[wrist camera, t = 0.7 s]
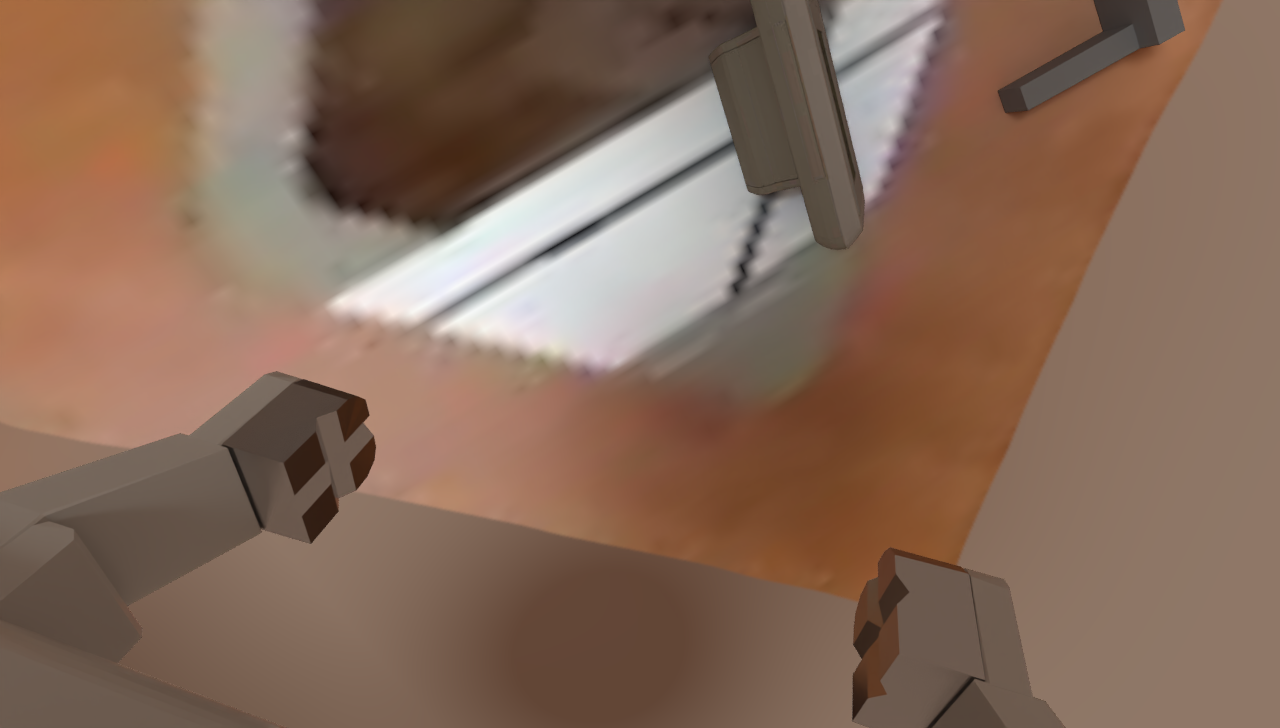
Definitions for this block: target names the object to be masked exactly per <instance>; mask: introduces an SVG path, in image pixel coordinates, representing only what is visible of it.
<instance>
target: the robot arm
mask: <svg viewBox="0 0 1280 728" xmlns="http://www.w3.org/2000/svg"><path fill="white" fill-rule="evenodd" d="M368 417H369V411H368V407H367V404H366V400H365V399H363V398H360V397H358V396H355V395H352V394H349V393H346V392H342V391H339V390H336V389H333V388H330V387H327V386H323V385H320V384H317V383H314V382H311V381H308V380H304V379H300V378H297V377H294V376H290V375H287V374H284V373H280V372H277V371H276V372H272V373H269V374H265V375H264V376H262V377H261V378H260V379H259V380H257V381H256V382H255V383H254V384H252V385H251V386H250V387H249V388H247V389H246V390H245V391H244V392H242V393H241V394H240V395H239V396H238V397H236V398H235V399H234V400H233V401H231V402H230V403H229V404H228V405H226V406H225V407H224V408H223V409H221V410H220V411H219V412H218V413H216V414H215V415H214V416H213V417H212V418H210V419H209V420H208V421H207V422H205V423H204V424H203V425H202V426H200V427H199V428H198V429H197V430H195V431H194V432H193V433H192V434H190V435H189V436H188V435H185V434H181V433H180V434H177V435H174V436H171V437H167V438H164V439H161V440H158V441H155V442H152V443H149V444H146V445H143V446H140V447H137V448H134V449H131V450H128V451H125V452H122V453H119V454H116V455H113V456H110V457H107V458H104V459H101V460H97V461H95V462H92V463H88V464H86V465H82V466H80V467H76V468H74V469H70V470H67V471H64V472H61V473H58V474H55V475H52V476H49V477H46V478H43V479H40V480H37V481H34V482H31V483H27V484H25V485H22V486H19V487H15V488H12V489H10V490H6V491H3V492H0V728H287V727H284V726H281V725H279V724H276V723H273V722H271V721H268V720H266V719H263V718H260V717H258V716H255V715H252V714H250V713H247V712H244V711H242V710H239V709H237V708H234V707H231V706H229V705H226V704H223V703H221V702H218V701H215V700H213V699H210V698H207V697H204V696H202V695H199V694H197V693H194V692H192V691H189V690H186V689H184V688H181V687H178V686H175V685H173V684H170V683H168V682H165V681H163V680H160V679H157V678H154V677H152V676H149V675H147V674H144V673H141V672H139V671H136V670H133V669H131V668H128V667H126V666H123V665H120V664H118V662H119V661H120V660H121V659H122V658H123V657H124V656H125V655H126V654H127V653H128V652H129V651H130V650H131V648H132V647H133V646H134V645H135V644H136V643H137V642H138V641H139V640H140V639H141V638H142V627H141V625H140V624H139V622H138V621H137V620H136V618H135V617H134V615H133V614H132V612H131V611H130V610H129V608H128V607H127V606H129V605H130V604H132V603H134V602H136V601H138V600H139V599H141V598H143V597H145V596H147V595H148V594H150V593H152V592H154V591H156V590H158V589H159V588H161V587H163V586H165V585H167V584H169V583H171V582H172V581H174V580H176V579H178V578H180V577H181V576H183V575H185V574H187V573H189V572H191V571H193V570H194V569H196V568H198V567H200V566H202V565H203V564H205V563H207V562H209V561H211V560H213V559H214V558H216V557H218V556H220V555H222V554H224V553H225V552H227V551H229V550H231V549H233V548H235V547H236V546H238V545H240V544H242V543H244V542H246V541H247V540H249V539H251V538H253V537H255V536H257V535H258V534H260V533H261V532H262V531H261V529H262V530H265V531H269V532H272V533H276V534H279V535H282V536H286V537H289V538H292V539H296V540H299V541H303V542H306V543H309V544H311V543H312V542H313V541H314V540H315V539H316V537H317V536H318V535H319V534H320V533H321V532H322V530H323V529H324V528H325V527H326V525H327V524H328V523H329V522H330V521H331V520H332V519H333V517H334V516H335V515H336V514H337V513H338V511H339V510H338V508H339V498H340V497H343V496H345V495H347V494H349V493H352V492H354V491H356V490H357V489H358V488H359V486H360V485H361V484H362V483H363V481H364V480H365V479H366V478H367V476H368V474H369V471H370V469H371V467H372V465H373V462H374V460H375V450H376V445H375V439H374V435H373V434H372V433H371V432H370V430H369V429H368V428H367V427H366V426H365V424H364V423H363V422H364V421H365V420H366V419H367V418H368ZM853 645H854V647H855V648H856V650H857V652H858V654H859V655H860V657H861V658H862V660H861V662H860V663H859V665H858V667H857V668H856V671H855V672H854V673H853V701H852V702H853V703H852V705H853V707H852V710H853V711H852V721H853V722H855V723H858V724H861V725H863V726H866V727H869V728H1065V726H1064V725H1063V724H1062V722H1061V721H1060V720H1059V718H1058V717H1057V716H1056V715H1055V713H1054V712H1053V711H1052V709H1051V708H1050V707H1049V705H1048V704H1047V703H1046V701H1043V700H1041V699H1038V698H1035V697H1033V696H1032V692H1031V686H1030V682H1029V677H1028V672H1027V668H1026V663H1025V658H1024V654H1023V649H1022V645H1021V640H1020V635H1019V630H1018V626H1017V621H1016V616H1015V612H1014V607H1013V602H1012V598H1011V593H1010V589H1009V586H1008V584H1007V583H1006V582H1005V580H1004V579H1001V578H998V577H994V576H990V575H987V574H983V573H980V572H976V571H973V570H969V569H966V568H965V569H963V568H962V567H960V566H957V565H953V564H949V563H946V562H942V561H938V560H935V559H931V558H927V557H924V556H920V555H916V554H913V553H909V552H905V551H902V550H898V549H894V548H891V547H890V548H888V549H887V550H886V551H885V552H884V553H883V555H882V556H881V558H880V560H879V562H878V577H877V578H874V579H872V580H869V581H867V583H866V585H865V587H864V589H863V591H862V593H861V595H860V599H859V602H858V606H857V610H856V613H855V622H854V636H853Z"/></svg>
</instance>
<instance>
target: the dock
mask: <svg viewBox="0 0 1280 728" xmlns="http://www.w3.org/2000/svg"><path fill="white" fill-rule="evenodd" d="M1094 2H1095V6H1096V9H1097V12H1098V16H1099V19H1100V22H1101V25H1102V29H1103V32H1101V33H1099V34H1098V35H1096V36H1094V37H1092V38H1091V39H1089V40H1087V41H1085V42H1083V43H1082V44H1080V45H1078V46H1076V47H1075V48H1073V49H1071V50H1069V51H1067V52H1066V53H1064V54H1062V55H1060V56H1059V57H1057V58H1055V59H1053V60H1052V61H1050V62H1048V63H1046V64H1044V65H1043V66H1041V67H1039V68H1037V69H1036V70H1034V71H1032V72H1030V73H1028V74H1027V75H1025V76H1023V77H1021V78H1020V79H1018V80H1016V81H1014V82H1013V83H1011V84H1009V85H1007V86H1005V87H1004V88H1002V89H1000V90H998V93H999V96H1000V99H1001V101H1002V104H1003V107H1004V110H1005V113H1007V112H1017V111H1027V110H1030V109H1032V108H1033V107H1035V106H1037V105H1039V104H1041V103H1042V102H1044V101H1046V100H1048V99H1050V98H1051V97H1053V96H1055V95H1057V94H1059V93H1060V92H1062V91H1064V90H1066V89H1068V88H1069V87H1071V86H1073V85H1075V84H1077V83H1078V82H1080V81H1082V80H1084V79H1086V78H1087V77H1089V76H1091V75H1093V74H1095V73H1096V72H1098V71H1100V70H1102V69H1104V68H1105V67H1107V66H1109V65H1111V64H1113V63H1114V62H1116V61H1118V60H1120V59H1122V58H1123V57H1125V56H1127V55H1129V54H1130V53H1132V52H1134V51H1136V50H1138V49H1139V48H1144V47H1149V46H1154V45H1159V44H1161V43H1163V42H1165V41H1166V40H1168V39H1170V38H1172V37H1174V36H1176V35H1177V34H1179V33H1181V32H1183V31H1185V28H1184V24H1183V20H1182V17H1181V13H1180V9H1179V6H1178V2H1177V0H1094Z"/></svg>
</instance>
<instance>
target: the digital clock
mask: <svg viewBox="0 0 1280 728" xmlns="http://www.w3.org/2000/svg"><path fill="white" fill-rule="evenodd" d="M750 2H751V5H752V9H753V13H754V17H755V20H756V24H757V27H755V28H753V29H751V30H749V31H748V32H746V33H744V34H742V35H740V36H738V37H736V38H734V39H731V40H729V41H727V42H725V43H723V44H721V45H719V46H718V47H717V48H715V50H714V51H713V52H712V53H711V54H710V55H709V61H710V64H711V68H712V71H713V74H714V78H715V81H716V84H717V88H718V91H719V95H720V98H721V101H722V105H723V108H724V112H725V115H726V118H727V122H728V125H729V128H730V132H731V135H732V139H733V142H734V145H735V149H736V152H737V156H738V159H739V162H740V166H741V169H742V172H743V176H744V179H745V183H746V186H747V189H748V191H749V192H752V193H754V194H757V195H766V194H769V193H773V192H776V191H780V190H785V189H790V188H795V187H801V191H802V194H803V198H804V202H805V205H806V209H807V213H808V216H809V220H810V224H811V227H812V231H813V234H814V237H815V240H816V241H817V242H818V243H819V244H821V245H822V246H824V247H827V248H830V249H835V250H841V249H846V248H849V247H850V246H851V245H852V244H853V242H854V241H855V240H856V239H857V238H858V236H859V235H860V234H861V232H862V231H863V223H864V204H865V200H864V194H863V186H862V182H861V178H860V174H859V170H858V165H857V161H856V157H855V153H854V149H853V145H852V140H851V136H850V132H849V128H848V124H847V120H846V116H845V111H844V107H843V103H842V99H841V95H840V91H839V86H838V82H837V78H836V74H835V70H834V66H833V61H832V57H831V53H830V49H829V45H828V41H827V37H826V32H825V28H824V24H823V20H822V16H821V12H820V7H819V3H818V0H750Z"/></svg>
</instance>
